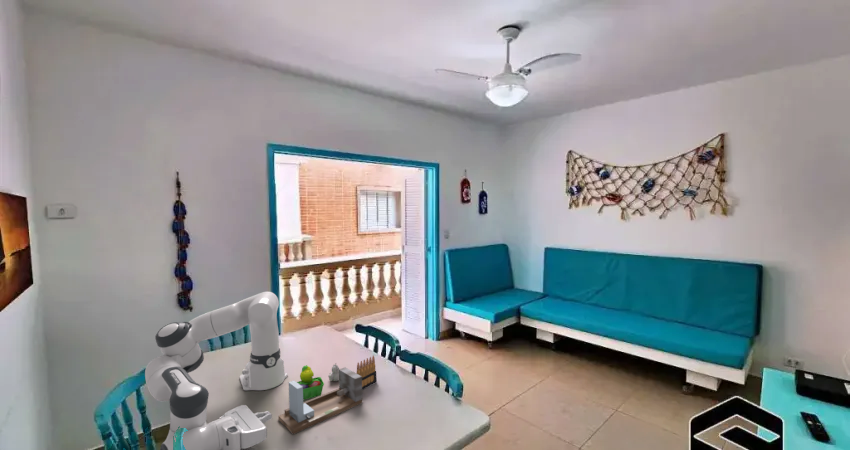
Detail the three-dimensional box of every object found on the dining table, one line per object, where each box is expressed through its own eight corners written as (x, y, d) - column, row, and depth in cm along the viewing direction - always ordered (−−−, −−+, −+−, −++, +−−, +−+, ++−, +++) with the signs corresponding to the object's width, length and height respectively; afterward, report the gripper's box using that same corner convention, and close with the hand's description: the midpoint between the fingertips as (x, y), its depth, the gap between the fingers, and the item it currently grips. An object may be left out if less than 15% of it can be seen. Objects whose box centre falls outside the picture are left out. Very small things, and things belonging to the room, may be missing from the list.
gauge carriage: (289, 414, 132) (288, 382, 132) (305, 408, 137) (304, 376, 136) (301, 425, 126) (300, 391, 125) (317, 418, 130) (316, 385, 129)
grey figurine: (344, 379, 163) (344, 361, 163) (333, 385, 158) (333, 367, 157) (335, 376, 166) (335, 359, 166) (324, 382, 160) (324, 364, 160)
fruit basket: (295, 403, 143) (294, 375, 143) (292, 393, 151) (291, 366, 151) (324, 396, 148) (324, 369, 148) (320, 387, 156) (319, 361, 156)
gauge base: (278, 419, 132) (277, 391, 132) (345, 392, 152) (345, 367, 151) (293, 434, 124) (292, 403, 123) (362, 402, 143) (361, 376, 143)
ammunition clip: (358, 392, 152) (358, 363, 151) (355, 390, 153) (354, 362, 152) (376, 382, 160) (376, 355, 160) (373, 380, 161) (373, 354, 161)
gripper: (216, 427, 122) (259, 411, 132) (236, 457, 107) (283, 436, 117) (215, 409, 122) (258, 394, 131) (235, 436, 107) (282, 417, 117)
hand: (270, 414), depth 124 cm, fingers closed
